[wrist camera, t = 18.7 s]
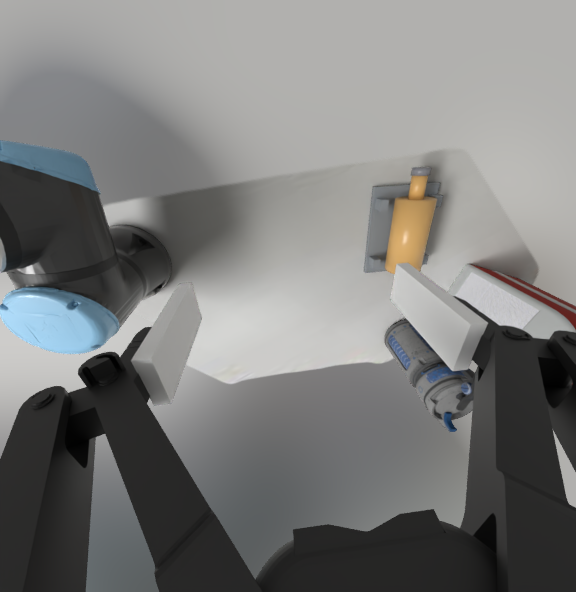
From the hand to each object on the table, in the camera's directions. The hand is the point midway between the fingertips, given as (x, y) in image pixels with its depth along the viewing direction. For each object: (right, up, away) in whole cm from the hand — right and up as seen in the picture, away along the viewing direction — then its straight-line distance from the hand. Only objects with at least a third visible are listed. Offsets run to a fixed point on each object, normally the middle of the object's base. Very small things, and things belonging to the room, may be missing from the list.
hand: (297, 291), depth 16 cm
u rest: (+23, +14, +37) cm, 46 cm away
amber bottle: (+23, +15, +35) cm, 44 cm away
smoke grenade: (+30, -10, +52) cm, 61 cm away
